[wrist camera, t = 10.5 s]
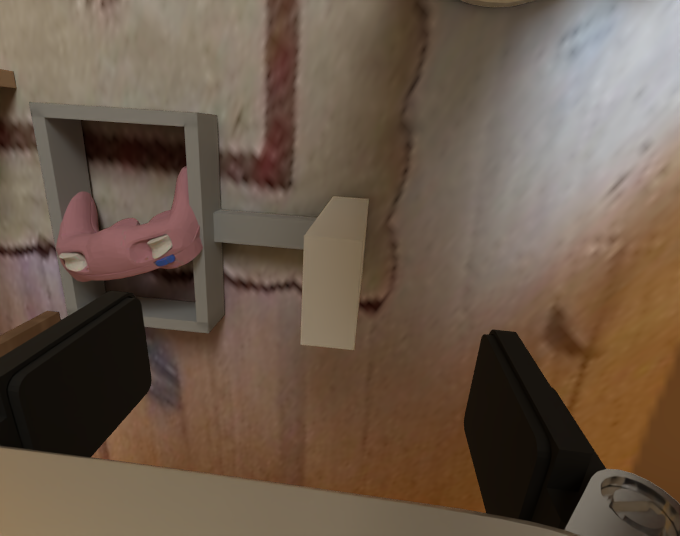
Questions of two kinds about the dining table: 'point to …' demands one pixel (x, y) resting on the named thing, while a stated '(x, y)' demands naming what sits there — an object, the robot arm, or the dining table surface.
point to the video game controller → (127, 239)
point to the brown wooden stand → (44, 320)
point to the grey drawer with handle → (213, 228)
